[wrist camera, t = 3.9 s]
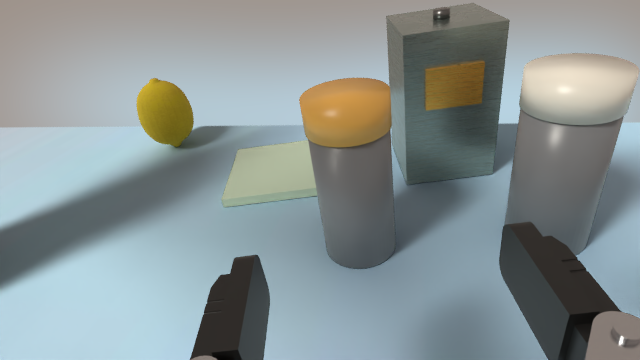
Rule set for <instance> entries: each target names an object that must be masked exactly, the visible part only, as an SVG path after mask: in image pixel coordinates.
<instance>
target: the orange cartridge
mask: <svg viewBox="0 0 640 360" xmlns="http://www.w3.org/2000/svg"><path fill="white" fill-rule="evenodd" d="M299 101H300V107H301V113H302V118H303V124H304V130H305V135H306V137H307V138H308V143H309V149H310V155H311V160H312V166H313V172H314V178H315V184H316V190H317V195H318V201H319V207H320V213H321V219H322V225H323V231H324V236H325V242H326V248H327V252H328V255H329V256H330V258H331V259H332V260H333V261H334V262H336V263H337V264H339V265H341V266H344V267H348V268H353V269H365V268H370V267H374V266H377V265H379V264H381V263H383V262H385V261H386V260H387V259H388V258H389V257H390V256H391V255H392V254H393V252H394V250H395V246H396V239H395V218H394V197H393V176H392V155H391V134H390V128H391V126H392V117H391V95H390V87H389V86H388V85H387V84H386V83H384V82H382V81H379V80H376V79H370V78H346V79H338V80H333V81H329V82H325V83H322V84H319V85H316V86H314V87H312V88H310V89H308V90H307V91H305V92H304V93H303V94H302V95H301V97H300V99H299Z"/></svg>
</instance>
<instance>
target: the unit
mask: <svg viewBox="0 0 640 360" xmlns="http://www.w3.org/2000/svg"><path fill="white" fill-rule="evenodd" d="M386 19H387V39H388V40H387V41H388V61H389V84H390V95H391V117H392V126H391V128H392V146H393V149H394V152H395V154H396V157H397V160H398V162H399V165H400V168H401V171H402V173H403V176H404V179H405V181H406V184H407V185H408V184H416V183H424V182H433V181H441V180H449V179H457V178H465V177H473V176H481V175H489V174H493V167H494V157H495V148H496V139H497V130H498V120H499V111H500V103H501V93H502V84H503V75H504V66H505V56H506V47H507V38H508V30H509V20H508V19H506V18H504V17H502V16H500V15H498V14H496V13H493V12H491V11H489V10H487V9H485V8H483V7H481V6H478V5H476V4H474V3H470V4H464V5H457V6H451V7H441V8H436V9H430V10H423V11H417V12H410V13H404V14H397V15H390V16H386Z"/></svg>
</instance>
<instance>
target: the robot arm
mask: <svg viewBox="0 0 640 360" xmlns="http://www.w3.org/2000/svg"><path fill="white" fill-rule="evenodd" d="M499 264H500V270H501V274H502V277H503V279H504V281H505V283H506V284H507V286H508V288H509V290H510V292H511V293H512V295H513V297H514V299H515V301H516V302H517V304H518V306H519V308H520V310H521V311H522V313H523V315H524V317H525V319H526V320H527V322H528V324H529V326H530V328H531V329H532V331H533V333H534V335H535V337H536V338H537V340H538V342H539V344H540V346H541V347H542V349H543V351H544V353H545V355H546V356H547V358H548V360H640V319H639V318H637V317H635V316H633V315H630V314H627V313H623V312H621V311H620V310H619V309H618V307H617V306H616V305H615V304H614V302H613V301H612V300H611V299H610V298H609V296H608V295H607V294H606V293H605V291H604V290H603V289H602V288H601V287H600V285H599V284H598V283H597V282H596V280H595V279H594V278H593V277H592V276H591V274H590V273H589V272H587V271H586V268H585V267H584V266H583V265H582V263H581V262H580V261H578V260H577V257H576V256H575V255H574V254H573V252H572V251H571V250H570V249H569V248H568V246H567V245H565V244H564V243H562V242H560V241H559V240H557V239H556V238H554V237H553V236H542V235H541V233H540V232H539V231H538V229H537V228H536V227H535V225H534V224H533V223H532V222H522V223H514V224H506V225H504V227H503V232H502V241H501V250H500V258H499ZM269 306H270V296H269V289H268V285H267V282H266V278H265V275H264V272H263V269H262V265H261V262H260V259H259V257H258V255H252V256H244V257H236V258H235V259H234V261H233V265H232V269H231V273H230V274H226V275H220V277H219V278H218V279H217V281H216V282H215V283H214V284H213V286H212V287H211V290H210V293H209V297H208V300H207V304H206V307H205V310H204V315H203V317H202V321H201V324H200V328H199V331H198V335H197V338H196V342H195V345H194V348H193V352H192V355H191V358H190V360H263V358H264V349H265V341H266V332H267V324H268V315H269Z"/></svg>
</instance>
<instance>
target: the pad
mask: <svg viewBox="0 0 640 360" xmlns="http://www.w3.org/2000/svg"><path fill="white" fill-rule="evenodd" d="M311 196H318V195H317V190H316V184H315V178H314V172H313V166H312V160H311V155H310V149H309V143H308V140H306V141H298V142H290V143H283V144H275V145H268V146H260V147H253V148H245V149H238V151H237V154H236V157H235V160H234V163H233V166H232V169H231V172H230V175H229V178H228V181H227V184H226V187H225V190H224V193H223V196H222V199H221V200H222V203H223V206H224V207H231V206H239V205H247V204H255V203H263V202H271V201H279V200H287V199H295V198H303V197H311Z"/></svg>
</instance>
